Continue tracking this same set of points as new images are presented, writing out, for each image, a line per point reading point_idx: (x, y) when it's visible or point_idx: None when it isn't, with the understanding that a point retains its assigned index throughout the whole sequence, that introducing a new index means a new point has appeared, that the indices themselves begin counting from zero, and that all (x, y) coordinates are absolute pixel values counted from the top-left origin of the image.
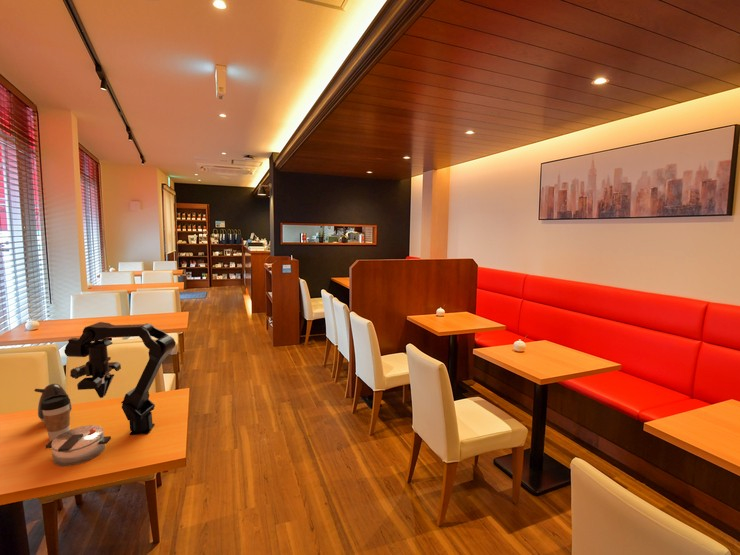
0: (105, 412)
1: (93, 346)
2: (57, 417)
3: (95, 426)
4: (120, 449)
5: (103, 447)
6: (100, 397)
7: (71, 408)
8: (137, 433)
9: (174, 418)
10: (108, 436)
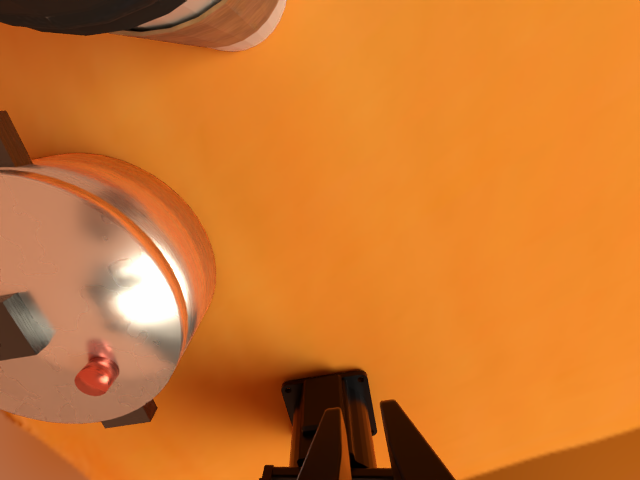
0: (561, 85)
1: None
2: None
3: (168, 340)
4: (177, 402)
5: None
6: (326, 418)
7: None
8: (289, 413)
9: None
10: (143, 415)
